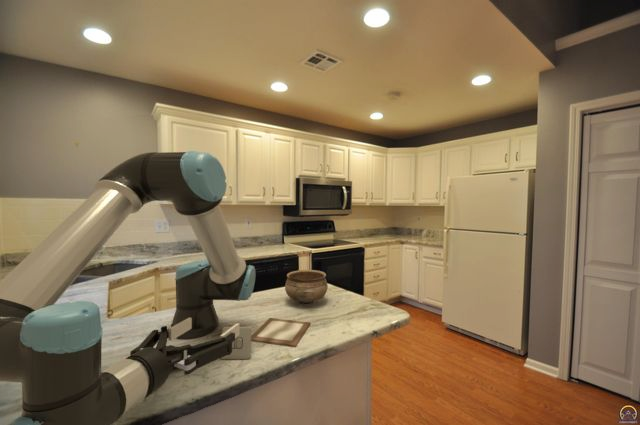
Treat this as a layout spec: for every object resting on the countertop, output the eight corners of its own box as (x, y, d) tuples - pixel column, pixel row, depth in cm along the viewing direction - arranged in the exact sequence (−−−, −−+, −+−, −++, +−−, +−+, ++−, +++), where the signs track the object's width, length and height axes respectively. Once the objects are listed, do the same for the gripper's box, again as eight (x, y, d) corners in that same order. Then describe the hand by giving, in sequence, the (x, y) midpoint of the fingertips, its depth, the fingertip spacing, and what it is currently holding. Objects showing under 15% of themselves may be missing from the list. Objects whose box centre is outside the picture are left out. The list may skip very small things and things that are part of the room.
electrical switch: (219, 360, 73) (220, 329, 73) (225, 352, 77) (226, 323, 78) (249, 360, 73) (250, 329, 73) (253, 352, 77) (254, 323, 78)
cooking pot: (284, 293, 128) (284, 268, 128) (322, 291, 131) (322, 267, 131) (285, 314, 103) (285, 283, 103) (332, 311, 106) (332, 281, 106)
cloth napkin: (247, 340, 83) (247, 338, 83) (269, 319, 99) (269, 317, 99) (295, 347, 79) (295, 344, 79) (310, 324, 95) (310, 322, 95)
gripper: (78, 389, 47) (171, 335, 68) (196, 415, 41) (259, 347, 62) (78, 347, 47) (171, 306, 68) (196, 368, 41) (259, 315, 62)
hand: (213, 325), depth 65 cm, fingers open, 13 cm apart
